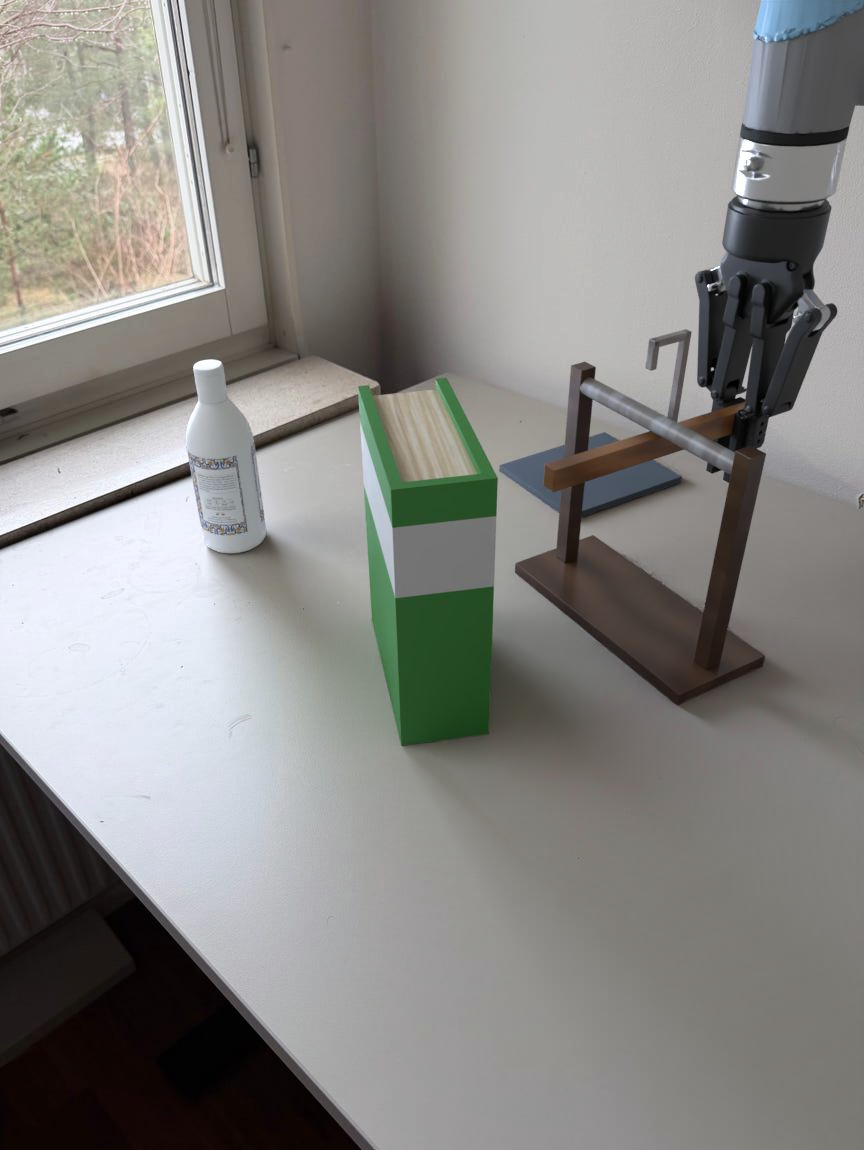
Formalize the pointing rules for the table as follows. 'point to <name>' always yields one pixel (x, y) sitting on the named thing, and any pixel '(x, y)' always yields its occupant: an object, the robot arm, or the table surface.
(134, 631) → the table surface
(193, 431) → the bath foam
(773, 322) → the robot arm
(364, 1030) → the table surface
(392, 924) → the table surface
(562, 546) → the rail stand
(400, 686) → the hardback book
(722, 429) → the hanger
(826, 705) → the table surface
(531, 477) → the mat
